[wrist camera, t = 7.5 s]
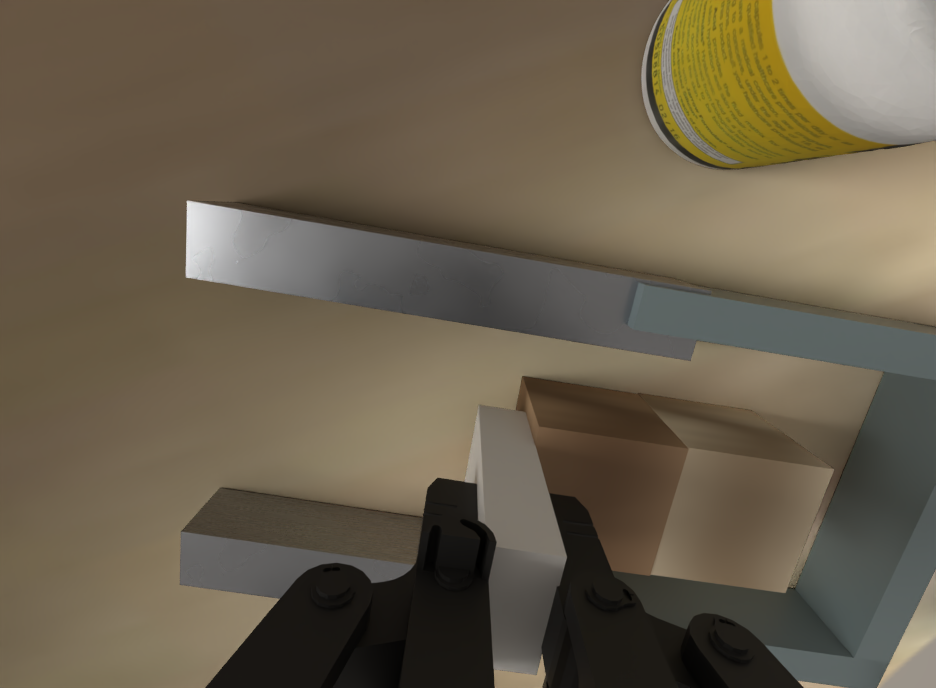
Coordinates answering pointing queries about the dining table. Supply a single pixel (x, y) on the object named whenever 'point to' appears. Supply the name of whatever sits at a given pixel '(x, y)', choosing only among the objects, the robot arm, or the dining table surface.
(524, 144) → the dining table surface
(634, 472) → the brown cube
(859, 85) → the supplement bottle
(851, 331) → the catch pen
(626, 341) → the slot rails
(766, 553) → the beige cube
